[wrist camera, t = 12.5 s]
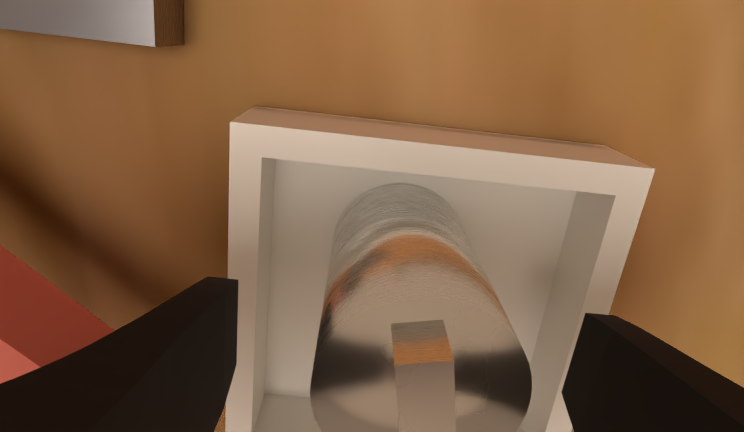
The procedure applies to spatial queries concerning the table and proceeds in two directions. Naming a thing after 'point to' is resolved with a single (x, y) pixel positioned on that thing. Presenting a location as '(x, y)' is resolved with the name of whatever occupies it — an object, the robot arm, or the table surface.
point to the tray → (472, 206)
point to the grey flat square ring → (99, 19)
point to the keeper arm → (38, 320)
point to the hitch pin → (413, 325)
